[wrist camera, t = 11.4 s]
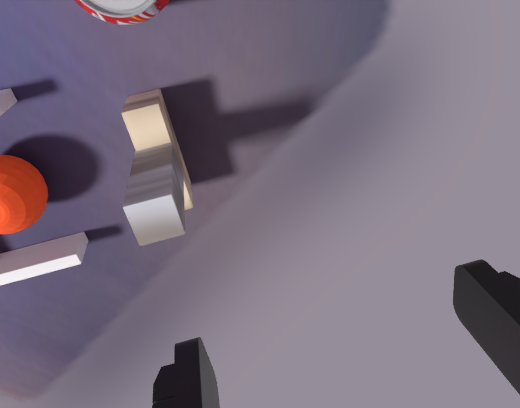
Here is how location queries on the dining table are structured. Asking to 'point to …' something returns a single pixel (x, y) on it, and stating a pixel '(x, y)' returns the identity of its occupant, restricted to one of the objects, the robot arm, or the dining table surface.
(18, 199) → the clementine
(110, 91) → the dining table surface
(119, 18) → the soda can
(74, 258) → the box
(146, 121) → the silver bent metal strip
